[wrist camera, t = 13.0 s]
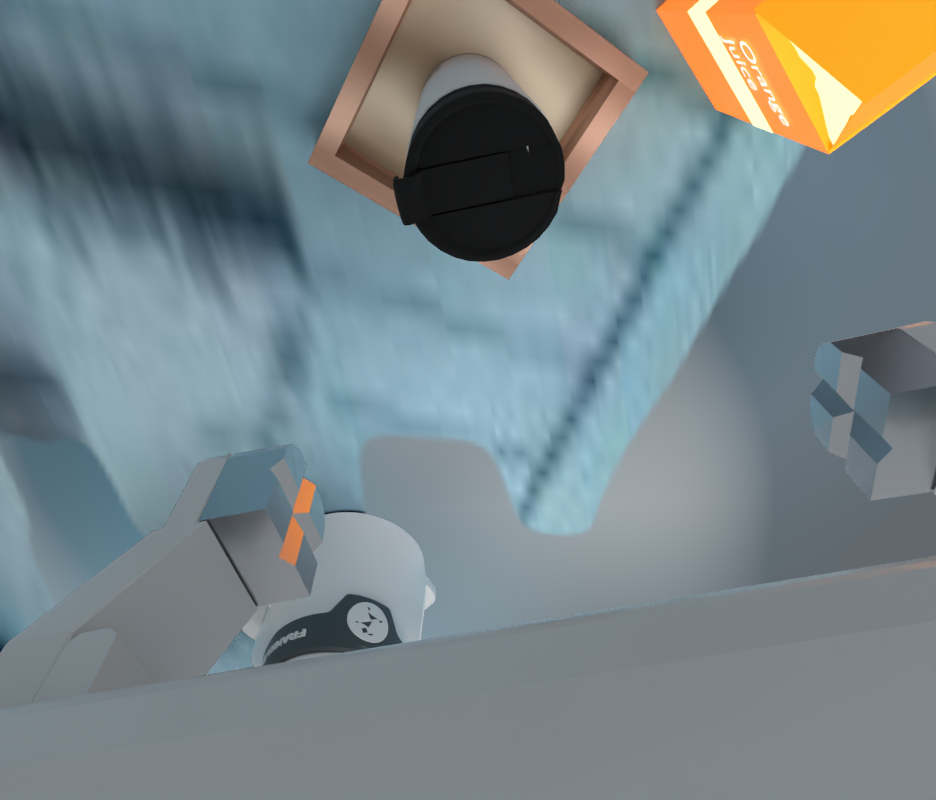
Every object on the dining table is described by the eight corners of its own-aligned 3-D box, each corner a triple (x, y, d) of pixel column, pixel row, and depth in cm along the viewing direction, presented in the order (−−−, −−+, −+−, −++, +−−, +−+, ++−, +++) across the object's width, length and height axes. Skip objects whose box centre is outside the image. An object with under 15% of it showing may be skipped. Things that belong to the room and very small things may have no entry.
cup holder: (503, 257, 47) (509, 285, 42) (316, 146, 42) (301, 164, 38) (631, 62, 40) (656, 70, 36) (426, -94, 36) (424, -108, 31)
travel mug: (404, 65, 39) (372, 114, 22) (510, 42, 38) (563, 75, 21) (425, 169, 42) (413, 283, 25) (524, 150, 41) (579, 252, 24)
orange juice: (841, 9, 39) (1144, 16, 22) (715, 112, 42) (899, 186, 25) (785, -113, 36) (1091, -215, 19) (653, 8, 39) (816, 13, 22)
